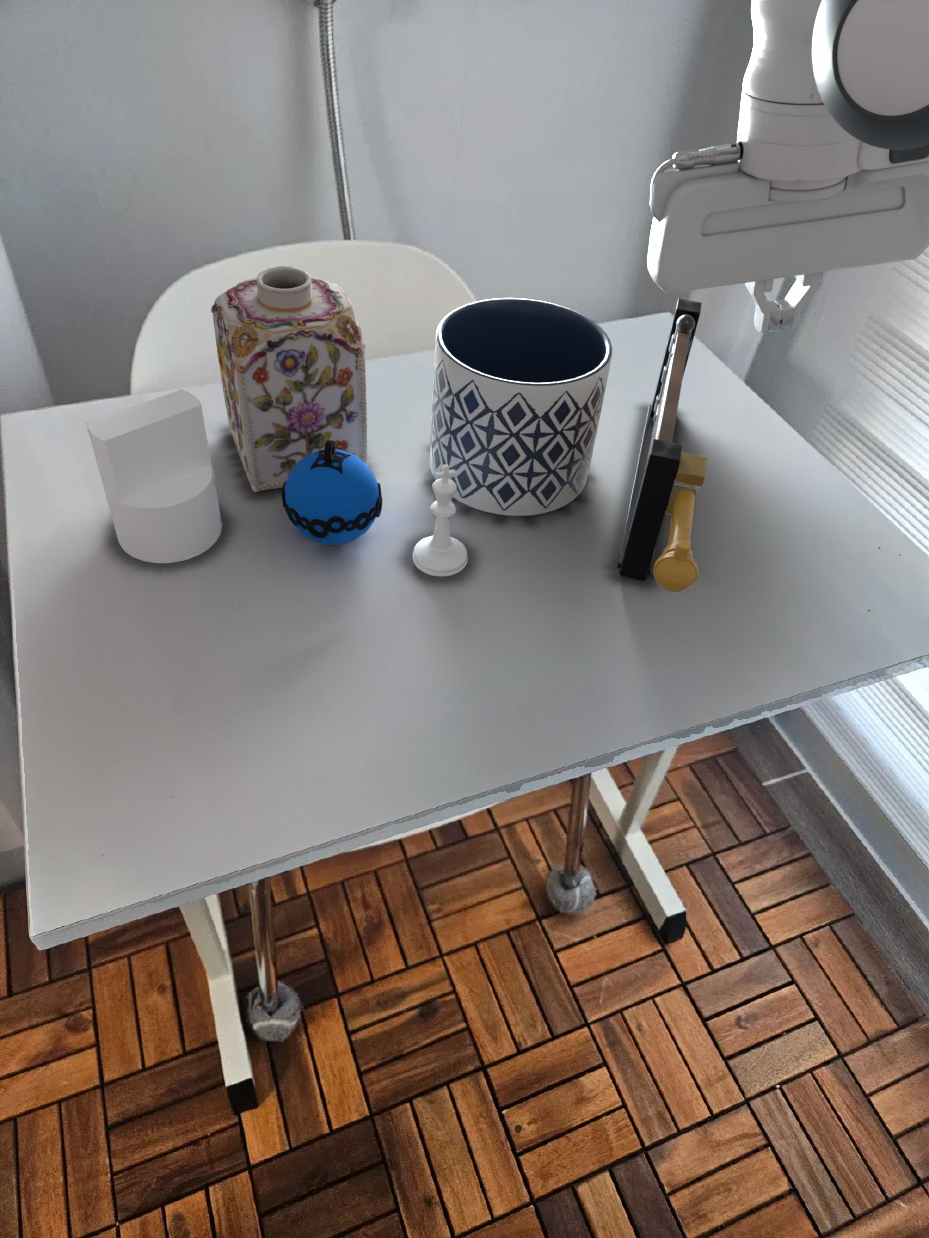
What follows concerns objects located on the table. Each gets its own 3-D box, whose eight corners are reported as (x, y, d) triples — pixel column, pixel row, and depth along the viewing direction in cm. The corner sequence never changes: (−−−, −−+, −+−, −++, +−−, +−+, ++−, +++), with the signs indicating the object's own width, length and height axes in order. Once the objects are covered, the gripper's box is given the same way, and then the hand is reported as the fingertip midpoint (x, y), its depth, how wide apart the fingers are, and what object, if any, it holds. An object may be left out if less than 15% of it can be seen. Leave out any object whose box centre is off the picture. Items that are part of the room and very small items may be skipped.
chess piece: (405, 545, 80) (407, 453, 73) (457, 536, 82) (464, 444, 74) (421, 581, 77) (425, 488, 70) (475, 571, 78) (484, 479, 71)
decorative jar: (338, 412, 95) (331, 243, 82) (370, 475, 87) (369, 300, 74) (225, 429, 91) (199, 255, 78) (249, 496, 84) (225, 316, 71)
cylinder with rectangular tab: (188, 487, 84) (166, 373, 75) (241, 534, 80) (224, 419, 71) (98, 525, 79) (64, 408, 71) (150, 577, 75) (120, 460, 66)
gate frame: (648, 409, 99) (675, 298, 90) (691, 417, 99) (723, 306, 89) (615, 577, 79) (645, 455, 70) (669, 589, 78) (708, 468, 69)
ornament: (301, 499, 84) (294, 407, 77) (390, 513, 83) (391, 421, 76) (273, 558, 78) (262, 464, 71) (369, 573, 77) (367, 480, 70)
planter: (558, 421, 96) (579, 293, 86) (609, 511, 86) (640, 378, 75) (414, 432, 93) (418, 301, 83) (449, 528, 82) (459, 391, 72)
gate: (652, 414, 97) (678, 309, 88) (670, 418, 96) (698, 313, 88) (625, 547, 80) (654, 434, 72) (647, 552, 80) (678, 439, 72)
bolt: (660, 509, 73) (672, 467, 70) (699, 517, 72) (713, 475, 69) (647, 596, 65) (659, 552, 62) (690, 605, 65) (705, 562, 62)
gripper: (664, 170, 57) (654, 365, 67) (977, 126, 57) (921, 327, 67) (640, 141, 62) (633, 328, 71) (930, 100, 62) (884, 292, 72)
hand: (775, 327), depth 69 cm, fingers closed
